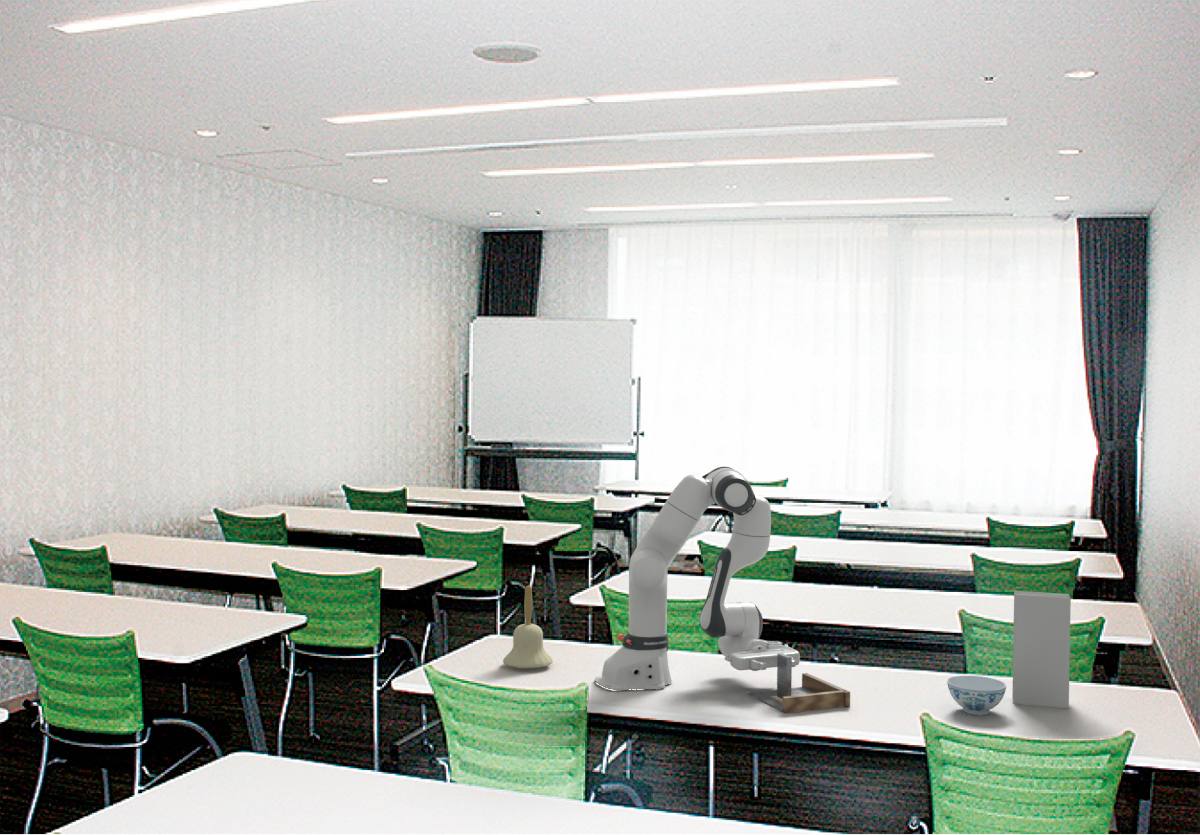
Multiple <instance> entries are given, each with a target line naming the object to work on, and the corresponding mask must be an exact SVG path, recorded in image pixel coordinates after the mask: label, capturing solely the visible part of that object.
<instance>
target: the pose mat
mask: <svg viewBox="0 0 1200 835" xmlns="http://www.w3.org/2000/svg"><path fill="white" fill-rule="evenodd" d="M794 690H800V691H802V692H804V693H806V694H813V693H815V692H813V691H811V690H809V689H807V688H804V687H802V686H799V687H791V691H794ZM747 695H749V696H751V697H752V698H754V699H757V700H759V701H761V702H762V703H764V704H766V705H769V707H772V708H774V709H776V710H778V711H780V712H782V699H781V698H779V697H777V689H771V690H762V691H753V692H747Z"/></svg>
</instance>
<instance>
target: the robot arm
mask: <svg viewBox="0 0 1200 835" xmlns="http://www.w3.org/2000/svg"><path fill="white" fill-rule="evenodd" d="M663 504H664V505H662V508H661V509H660V511H658V514H657V515H656V517H655V519H654V520H653V522H652V524H651V525H650V527H649V528H648V530H647V531H646V532H645V534H644V536H643V537H642V539H641V540H640V542H639V543H638V545H637V547H636V548H635V550H634V551H633V553H632V555H631V557H630V560H629V567H628V632H627V633H626V634H625V635H624V634H622V633H618V634H617V636H616V640H618V641H619V642H622V646H621V647H620V648H618V650H616V651H615V652H614V653H613V654H612V655H610V656H609V657H608V658H606V659H605V661H604V663H603V666H602V667H603V668H602V673H601V675H599V676H596V677H594V682H595V681H596V683H598V684H599V685H601V686H603V687H605V688H608V689H613V690H629V689H631V690H632V689H636V690H635V691H638V690H637V689H656V690H662V689H661V688H664V689H665V688H666V686H665V685H667V684H669V683H670V684H672V682H673V680H672V677H671V673H670V668H669V660H668V651H669V634H668V632H667V627H668V625H667V624H668V623H667V622H668V620H667V618H668V617H667V615H668V611H667V610H668V569H669V567H670V566H671V565H672V562H673V561H674V560H675V558H676V556H677V555H678V554H679V553H680V552H681V550H682V548H683V547H684V546H685V545H686V543H687V541H688V539H689V538H690V537H691V534H693V532H694V529H695V528H696V526H697V525H698V523H699V522H700V520H701V519H702V516H703V515H704V513H705V511H706V510H707V509H709V507H711V506H713V505H715V504H716V505H718V506H719V507H721V508H722V509H723V510H725V511H728V512H729V513H730V512H731V513H732V514H733V515H732V516H733V525H732V533H731V536H730V537H731V538H730V539H729V542H728V543H727V545H726V547H725V548H724V549H723V550H720V552H719V554H718V556H717V559H716V562H715V566H714V569H713V573H712V576H711V580H710V584H709V588H708V592H707V595H706V599H705V602H704V604H703V606H702V608H701V611H700V613H699V625H700V629H701V630H702V632H704V633H705V634H706V635H707V636H708V637H710V638H712V639H714V638H715V639H717V638H718V640H717V644H718V645H717V646H718V649H719V651H720V652H721V654H722V655H723V656H724V661H727V662H728V663H729V664H730V666H731V667H732V668H734V669H735V670H737V671H749V670H750V671H752V672H759V671H764V670H767V669H771V668H777V654H778V653H783V654H786V655H788V656H790V657H792V668H796V666H798V665H799V664H800V660H801V658H800V657H801V656H800V652H799V651H798V650H796V649H794V648H793V647H790V646H787V645H783V643H782V642H781V641H777V640H776V641H775V640H772V641H771V640H764V639H760V637H761V635H762V632H763V628H764V626H763V625H764V624H763V623H764V619H763V614H762V613H761V611H760V609H759V607H758V606H757V605H756V604H755V603H753V602H752V601H751V602H750V601H749V602H747V601H745V602H744V601H742V602H741V601H740V602H738V601H737V602H725V600H726V596H727V592H728V589H729V585H730V581H731V579H732V577H733V576H734V575H735V574H736V573H737V572H739V571H740V570H742V569H744V568H746V567H748V566H751V565H753V564H756V563H757V562H759V561H760V560H762V559H763V558H764V557H765V556H766V555H767V553H768V550H769V547H770V541H771V532H772V531H771V529H772V510H771V504H770V502H769V501H768V499H766V498H765V497H763V496H761V495H757V494H755V492H754V491H753V488H752V486H751V484H750V482H749V481H748V479H746V478H745V477H744V474H742V473H740V472H739V471H737V470H735V469H734V468H731V467H730V466H719V467H717V468H714V469H712V470H711V471H710V472H707V473H706V474H704V475H702V476H700V475H697V474H688V475H686V476H684V477H683V478H682V480H680V482H679V483H678V484H677V485H676V487H675V488H674V489H673V490H672V492H671V493H670V495H669V496H668V498H667V499H666V501H665V503H663ZM671 681H672V682H671ZM670 684H669V685H670ZM667 686H668V685H667Z"/></svg>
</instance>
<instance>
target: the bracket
mask: <svg viewBox="0 0 1200 835" xmlns="http://www.w3.org/2000/svg"><path fill="white" fill-rule="evenodd" d="M776 668H777V669H776V673H777V674H776V677H777V678H776V690H777V697H779V698H781V699H782V697H785V696H794V695H803V694H806V693H804V692H802V691H800V690H794V691H791V688H792V683H793V682H792V676H793V675H792V669H793V667H792V657H790V656H788V655H786V654H783V653H778V654H777V667H776Z"/></svg>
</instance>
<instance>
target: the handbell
mask: <svg viewBox="0 0 1200 835" xmlns="http://www.w3.org/2000/svg"><path fill="white" fill-rule="evenodd" d="M532 590H533V589H532V586H531V585H526V586H525V590H524V597H523V598H524V602H523V603H524V604H523V606H524V607H523V608H524V609H523V610H524V617H525V618H524V619H525V623H523V624H520V625H517V626H516V627H515V629H514V631H513V633H512V636H513V637H512V640H513V641H512V643H513V645H512V648H511V650H510V651H509V652H508V653H507V654H506V656H504V658H503V659H502V663H503V664H504V665H506V666H508V667H511V668H518V669H536V668H537V669H538V668H543V667H547V666H550V665H551V664H553V662H554V659H553V657H552V656H551V655H550V654H549V653H548V652H547V651H546V650H545V649H544V644H543V642H544V632H543V630H542V627H540V626H539V625H537V624H534V623H532V622H531V621H532V615H533V593H532V592H533V591H532Z"/></svg>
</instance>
